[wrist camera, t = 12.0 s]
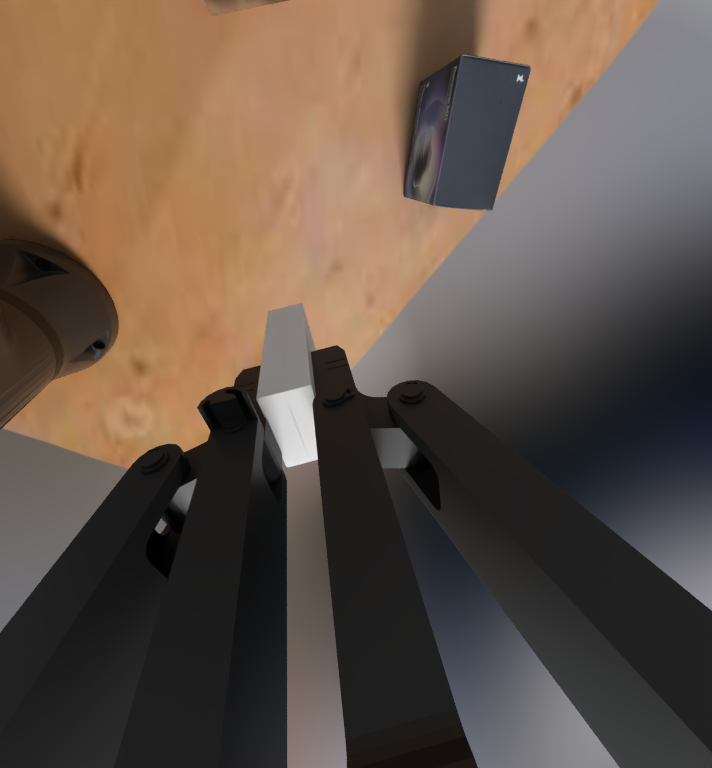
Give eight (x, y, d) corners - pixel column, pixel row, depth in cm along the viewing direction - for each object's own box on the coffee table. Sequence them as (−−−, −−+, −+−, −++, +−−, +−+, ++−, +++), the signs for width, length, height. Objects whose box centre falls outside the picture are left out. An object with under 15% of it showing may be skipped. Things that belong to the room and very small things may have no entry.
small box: (416, 78, 34) (460, 48, 25) (475, 88, 35) (536, 62, 27) (399, 197, 40) (431, 206, 31) (451, 202, 41) (495, 212, 32)
